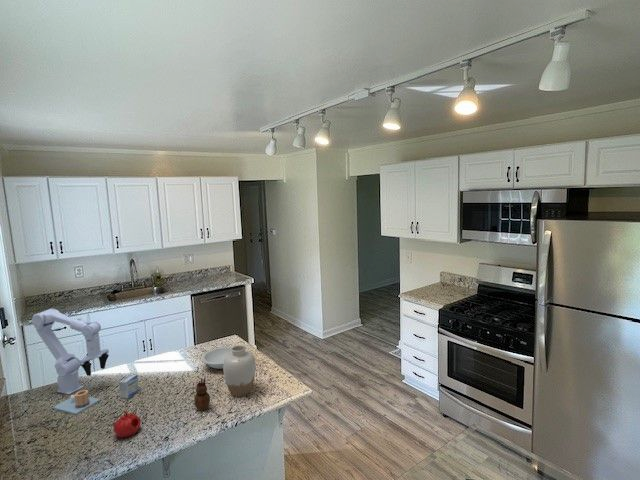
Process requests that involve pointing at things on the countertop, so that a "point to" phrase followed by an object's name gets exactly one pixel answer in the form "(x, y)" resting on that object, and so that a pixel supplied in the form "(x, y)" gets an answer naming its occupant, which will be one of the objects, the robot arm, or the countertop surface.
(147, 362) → the countertop surface
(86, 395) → the sleeve
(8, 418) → the countertop surface
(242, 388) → the vase
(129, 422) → the pomegranate
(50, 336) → the robot arm
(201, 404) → the wooden figurine
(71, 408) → the pin board
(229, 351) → the soup bowl
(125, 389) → the medicine box
